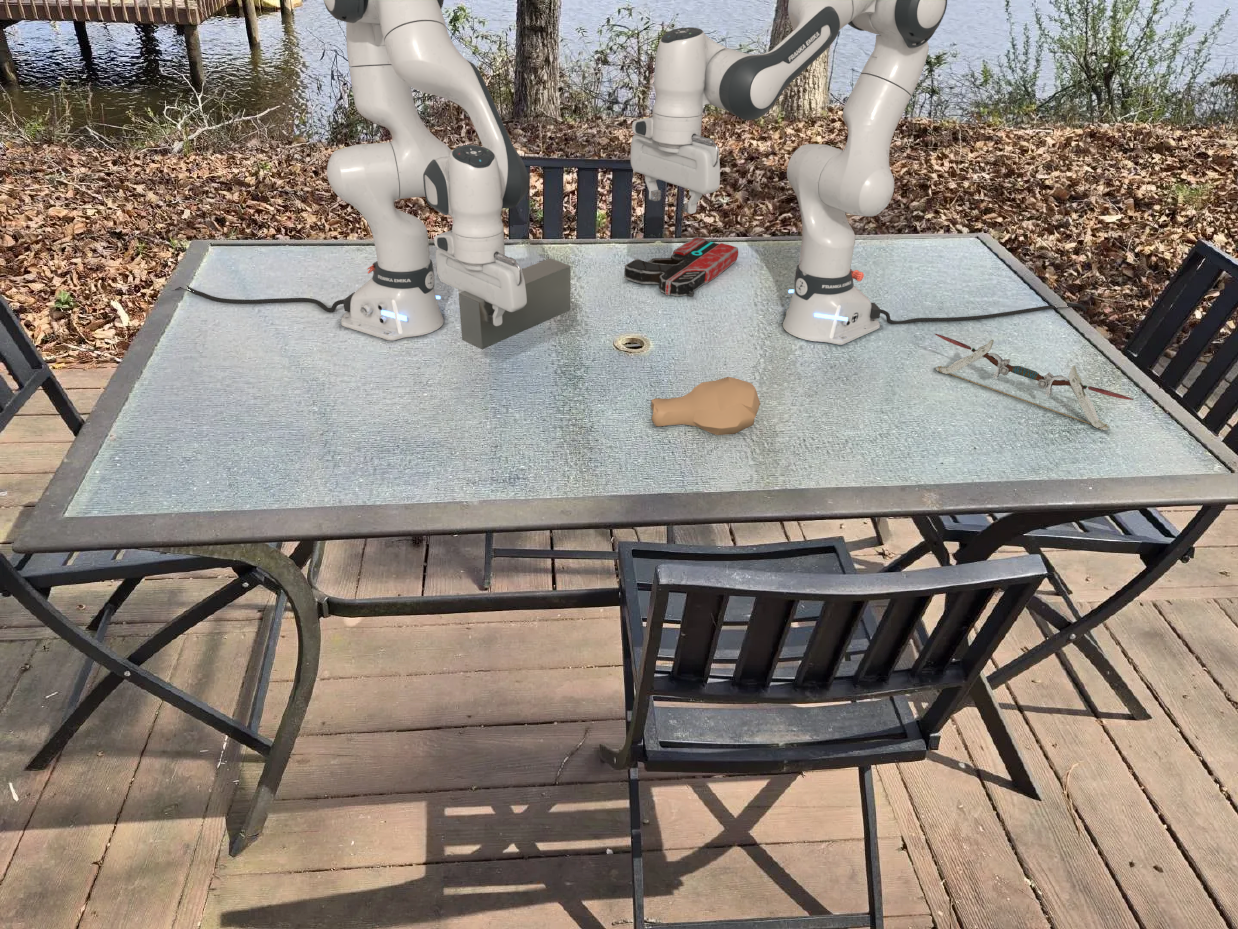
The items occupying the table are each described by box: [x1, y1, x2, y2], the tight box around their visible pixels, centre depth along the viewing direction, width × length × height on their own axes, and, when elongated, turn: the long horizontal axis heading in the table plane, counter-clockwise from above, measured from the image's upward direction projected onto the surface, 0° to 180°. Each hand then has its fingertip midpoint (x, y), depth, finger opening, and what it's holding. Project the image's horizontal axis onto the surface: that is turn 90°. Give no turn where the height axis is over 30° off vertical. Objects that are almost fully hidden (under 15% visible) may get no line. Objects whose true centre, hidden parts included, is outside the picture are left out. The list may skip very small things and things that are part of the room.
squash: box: [650, 376, 761, 436], centre depth 160 cm, size 11×20×9 cm, turn 90°
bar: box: [458, 257, 572, 350], centre depth 165 cm, size 23×6×9 cm, turn 139°
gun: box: [623, 236, 739, 298], centre depth 223 cm, size 4×31×19 cm
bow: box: [934, 333, 1135, 431], centre depth 171 cm, size 39×2×10 cm, turn 47°
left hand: (483, 318), depth 160 cm, fingers closed on bar, 5 cm apart
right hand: (672, 206), depth 164 cm, fingers open, 8 cm apart
